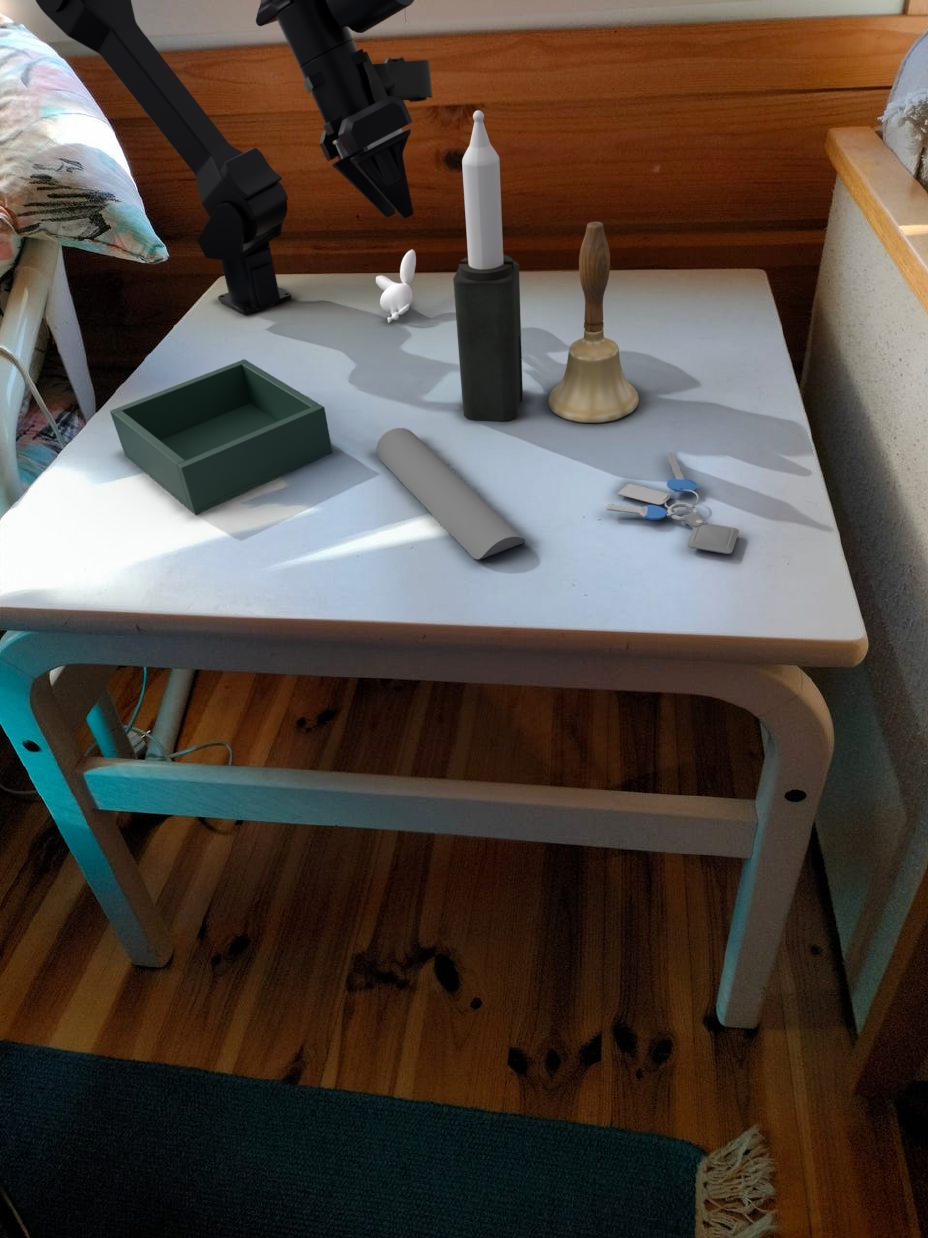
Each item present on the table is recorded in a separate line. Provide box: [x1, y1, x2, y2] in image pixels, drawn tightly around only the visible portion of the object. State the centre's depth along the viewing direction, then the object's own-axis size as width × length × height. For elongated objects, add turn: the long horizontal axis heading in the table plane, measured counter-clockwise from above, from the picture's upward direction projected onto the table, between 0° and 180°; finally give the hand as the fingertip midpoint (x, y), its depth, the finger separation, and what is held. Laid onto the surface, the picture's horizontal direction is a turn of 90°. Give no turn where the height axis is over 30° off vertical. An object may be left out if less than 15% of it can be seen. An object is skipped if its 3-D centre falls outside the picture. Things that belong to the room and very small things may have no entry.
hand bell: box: [547, 221, 640, 424], centre depth 84 cm, size 8×8×16 cm
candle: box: [452, 110, 524, 422], centre depth 81 cm, size 5×5×25 cm
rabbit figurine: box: [375, 249, 417, 324], centre depth 107 cm, size 6×4×8 cm
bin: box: [109, 358, 333, 516], centre depth 84 cm, size 14×14×4 cm
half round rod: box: [375, 427, 527, 560], centre depth 78 cm, size 4×20×2 cm, turn 28°
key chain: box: [605, 452, 740, 555], centre depth 74 cm, size 14×8×1 cm, turn 15°
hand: (399, 215), depth 98 cm, fingers open, 9 cm apart
